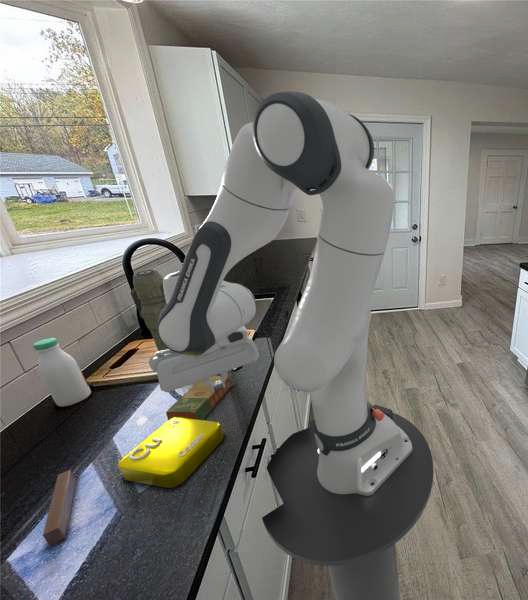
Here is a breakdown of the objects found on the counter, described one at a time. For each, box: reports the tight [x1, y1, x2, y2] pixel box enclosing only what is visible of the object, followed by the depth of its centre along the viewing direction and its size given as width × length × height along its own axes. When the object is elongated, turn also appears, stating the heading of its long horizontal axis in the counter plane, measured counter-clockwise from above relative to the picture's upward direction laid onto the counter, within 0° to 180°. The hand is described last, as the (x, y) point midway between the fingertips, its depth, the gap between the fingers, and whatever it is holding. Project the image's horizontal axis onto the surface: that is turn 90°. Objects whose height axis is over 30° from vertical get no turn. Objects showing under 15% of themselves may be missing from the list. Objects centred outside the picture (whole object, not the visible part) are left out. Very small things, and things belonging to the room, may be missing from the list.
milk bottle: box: [32, 337, 92, 407], centre depth 92 cm, size 8×8×20 cm
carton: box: [165, 375, 233, 421], centre depth 89 cm, size 8×16×4 cm, turn 177°
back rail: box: [42, 469, 77, 547], centre depth 62 cm, size 2×16×3 cm, turn 39°
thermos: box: [130, 269, 168, 352], centre depth 102 cm, size 9×12×35 cm
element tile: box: [117, 417, 224, 489], centre depth 72 cm, size 15×15×5 cm
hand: (218, 388), depth 75 cm, fingers closed
